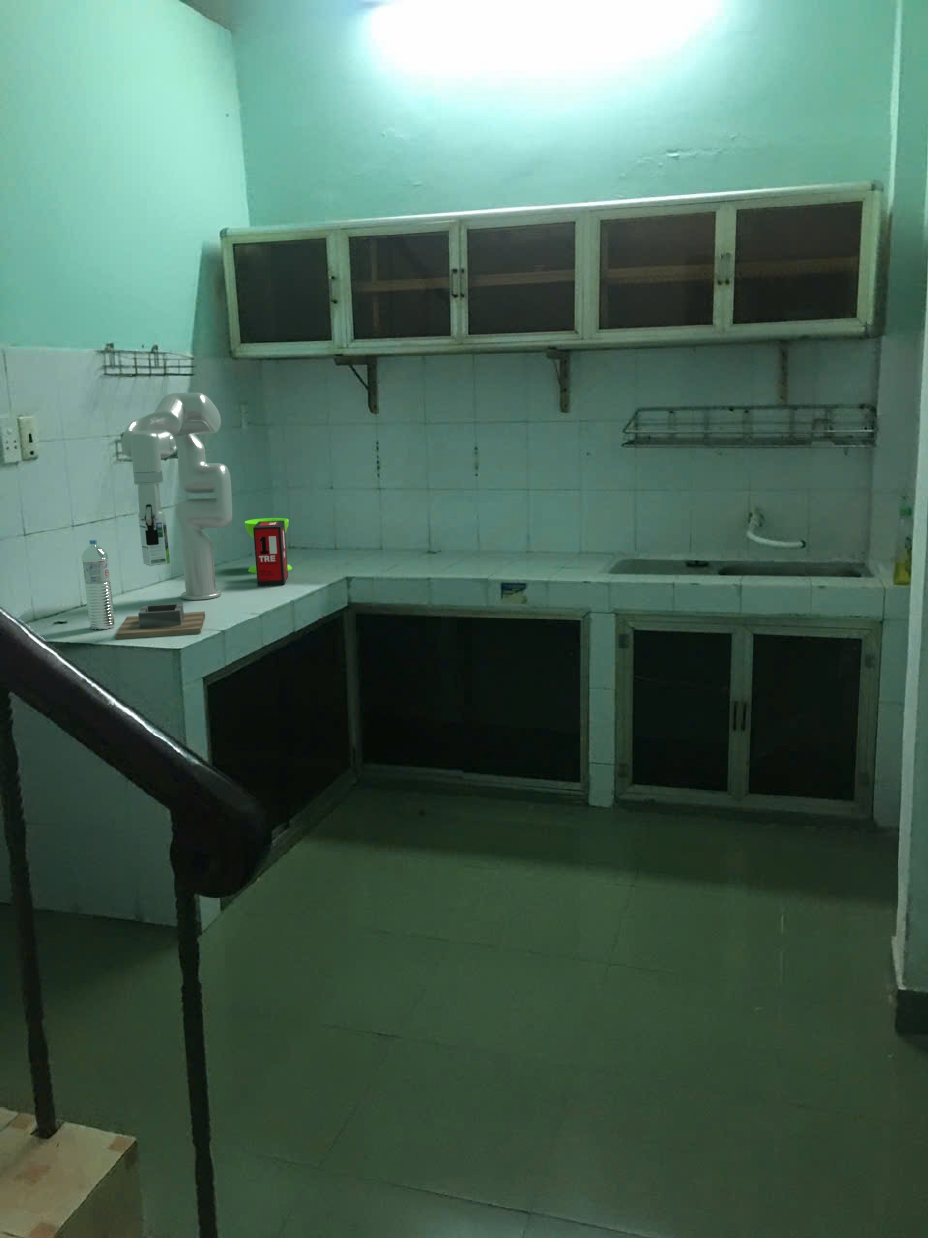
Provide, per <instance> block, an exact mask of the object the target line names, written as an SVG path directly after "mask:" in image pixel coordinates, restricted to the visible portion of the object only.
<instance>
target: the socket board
mask: <svg viewBox="0 0 928 1238" xmlns="http://www.w3.org/2000/svg"><path fill="white" fill-rule="evenodd" d="M205 619H206V611H204V610H203V611H189V612H188V611H187V612H184V603H183V602H182V603H181V602H179V603H164V604H163V603H162V604H147V605H142V606H141V608H140V610H139V612H138V615H130V616H129V615H128V616H126V617H125V619H124V621H123V623H122V624H121V625H120V627H119V629H117V632H116V634H115V637H116V640H125V639H127V640H128V639H137V638H138V639H140V638H141V639H142V638H154V637H155V638H156V637H169V636H170V637H171V636H182V635H186V636H187V635H197V634H198V635H200V634H199V633H201V634H202V630H203V626H204V623H203V622H205ZM201 629H202V630H201Z"/></svg>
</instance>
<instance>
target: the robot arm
mask: <svg viewBox="0 0 928 1238" xmlns="http://www.w3.org/2000/svg"><path fill="white" fill-rule="evenodd" d="M221 425H222V419H221V414H220V412H219V410H218V408H217V406H216V405H215V404H214V403H213V401H212V399H210V398H209V396H207V395H206V394H204V393H202V392H173V393H169V394H167V395H165V396H164V397H163V398H162V399H161V401H160V402H159V403H158V406H157V407H156V408H155V410H154V411H153V412H151V413H149V414H147V415H145V416H143V417H140V418H138V419H135V420H134V421H132V422H131V423H129V425H128V426H127V428H126V429H125V430H124V432H123V435H122V437H121V443H120V444H121V449H122V452H123V454H124V455H125V456H126V457H127V458H130V459H131V463H132V472H133V485H136V486H137V495H138V498H137V500H138V509H139V510H138V513H139V515H140V520H141V521H143V520H142V519H145V528H146V530H145V533H146V544H147V545H158V544H159V539H158V530H156V520H158V519H159V512H160V511H162V505H161V492H160V484H163V483H164V478H163V467H162V458H164V459H165V458H169V457H171V456H172V455H173V454H174V453H175V451H177V466H178V471H177V472H178V483H179V488H180V490H181V492H183V493H184V494H189V495H202V494H204V495H208V494H212V495H213V494H214V495H215V497H195V498H194V497H190V498H184V499H181V500H180V501H179V502H177V504H176V505H175V508H174V510H175V511H174V512H175V513H174V514H175V518H176V521H177V522H176V523H177V525H178V529H179V535H180V544H181V554H182V555H181V556H182V563H183V564H182V565H183V566H182V567H183V576H184V588H185V591H184V592H182V593H180V597H181V599H183V600H192V601H198V600H199V601H200V600H208V599H214V598H218V597H221V596H222V591H221V590H219V589H217V587H216V585H217V584H216V576H215V574H216V573H215V561H214V551H213V550H214V549H213V541H212V539H211V537H210V536H209V535H208V533H207V532H206V530H204V529H222V528H228V527H229V526H230V525H231V524H232V522H233V499H232V498H233V496H232V495H233V493H232V480H231V478H232V477H231V474H230V470H229V468H228V466H227V465H225V464H223V463H218V462H215V463H213V462H212V463H207V460H206V457H207V456H206V448H205V445H204V443H203V442H202V441H201V440H200V438H199V437H198V436H197V435H211V434H212V435H213V434H216V433H217V432H219V430H220V429H221ZM145 514H146V516H145ZM144 517H145V518H144ZM152 518H154V519H152ZM153 523H154V524H153Z"/></svg>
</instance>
